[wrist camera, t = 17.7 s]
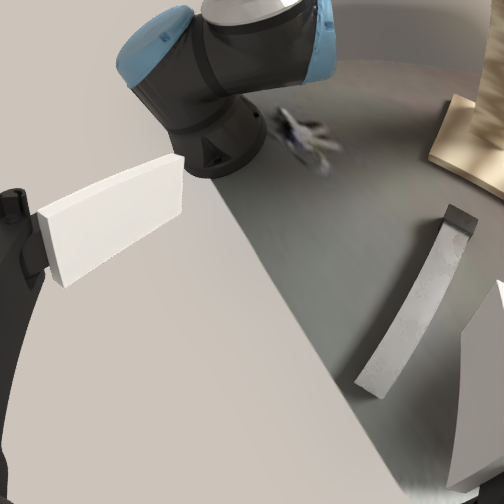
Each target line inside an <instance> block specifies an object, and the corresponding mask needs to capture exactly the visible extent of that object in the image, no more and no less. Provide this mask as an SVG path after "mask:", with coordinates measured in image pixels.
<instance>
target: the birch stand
mask: <svg viewBox="0 0 504 504" xmlns="http://www.w3.org/2000/svg"><path fill="white" fill-rule="evenodd" d="M428 160H429V161H431V162H433V163H435V164H437V165H439V166H441V167H443V168H445V169H447V170H449V171H451V172H453V173H455V174H457V175H459V176H461V177H463V178H465V179H467V180H469V181H471V182H472V183H474V184H476V185H478V186H480V187H482V188H483V189H485V190H487V191H489V192H490V193H492V194H494V195H496V196H497V197H499V198H501V199H502V200H504V0H492V4H491V15H490V25H489V33H488V41H487V48H486V54H485V60H484V66H483V71H482V76H481V81H480V86H479V91H478V95H477V100H476V103H474V102H472V101H470V100H468V99H465V98H463V97H461V96H458V95H456V94H454V96H453V99H452V101H451V104H450V106H449V109H448V111H447V114H446V116H445V118H444V121H443V123H442V126H441V128H440V130H439V133H438V135H437V137H436V139H435V142H434V144H433V146H432V148H431V151H430V153H429V157H428Z"/></svg>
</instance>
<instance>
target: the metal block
mask: <svg viewBox="0 0 504 504" xmlns="http://www.w3.org/2000/svg"><path fill="white" fill-rule="evenodd" d="M477 222H478V219H477V218H475V217H473V216H471V215H469V214H468V213H466V212H464V211H462V210H460V209H459V208H457V207H455V206H453V205H451V204H449V205H448V208H447V210H446V213H445V215H444V217H443V220H442V222H441V224H440V227H439V229H438V231H440V232H439V234H438V236H437V238H436V240H435V243H434V245H433V247H432V249H431V251H430V253H429V255H428V257H427V259H426V261H425V263H424V265H423V267H422V269H421V271H420V273H419V275H418V277H417V279H416V281H415V283H414V285H413V287H412V289H411V291H410V292H409V294H408V296H407V298H406V300H405V302H404V303H403V305H402V307H401V309H400V310H399V312H398V314H397V316H396V317H395V319H394V321H393V323H392V324H391V326H390V328H389V329H388V331H387V333H386V334H385V336H384V338H383V339H382V341H381V342H380V344H379V346H378V347H377V349H376V350H375V352H374V353H373V355H372V357H371V358H370V360H369V361H368V363H367V364H366V366H365V367H364V369H363V370H362V372H361V373H360V375H359V376H358V378H357V379H356V380H355V382H354V383H356V384H358V385H359V386H361V387H362V388H364V389H365V390H367V391H369V392H370V393H372V394H373V395H375V396H377V397H378V398H380V399H381V400H383V398H384V397H385V395H386V394H387V392H388V391H389V389H390V388H391V386H392V385H393V383H394V382H395V380H396V379H397V377H398V376H399V374H400V372H401V371H402V369H403V368H404V366H405V364H406V363H407V361H408V360H409V358H410V356H411V355H412V353H413V351H414V350H415V348H416V346H417V344H418V343H419V341H420V339H421V337H422V336H423V334H424V332H425V330H426V328H427V327H428V325H429V323H430V321H431V319H432V317H433V315H434V313H435V312H436V310H437V308H438V306H439V304H440V302H441V300H442V298H443V296H444V294H445V292H446V289H447V287H448V285H449V283H450V281H451V279H452V277H453V274H454V272H455V270H456V268H457V265H458V263H459V261H460V258H461V256H462V254H463V251H464V249H465V246H466V244H467V242H468V241H469V239H470V238H471V236H472V235H473V233H474V230H475V228H476V225H477Z"/></svg>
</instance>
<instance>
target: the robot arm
mask: <svg viewBox="0 0 504 504" xmlns="http://www.w3.org/2000/svg"><path fill="white" fill-rule="evenodd" d="M336 61H337V58H336V38H335V30H334V22H333V12H332V6H331V1H330V0H204V1H203V3H202V6H201V14H198V15H194V10H193V9H191V8H189V7H188V6H186V5H182V6H176V7H173V8H171V9H169V10H166V11H165V12H163V13H161V14H159V15H158V16H156V17H155V18H153V19H152V20H150V21H149V22H147V23H146V24H145V25H144V26H142V27H141V28H140V29H139V30H138V31H137V32H136V33H134V35H133V36H131V38H130V39H129V40H128V41H127V42H126V44H124V46H123V47H122V49H121V50H120V52H119V54H118V56H117V59H116V68H117V70H118V72H119V74H120V75H121V76H122V78H123V79H124V80H125V82H126V83H127V87H128V88H129V89H131V90H132V91H133V93H134V94H135V95H136V96H137V97H138V98H139V99H140V100H141V102H142V103H143V104H144V105H145V106H146V107H147V108H148V110H149V111H150V112H151V113H152V114H153V115H154V116H155V117H156V119H157V120H158V121H159V122H160V123H161V124H162V125H163V126H164V128H165V129H166V130H167V131H168V134H169V137H170V140H171V143H172V146H173V150H174V153H175V154H173V153H170V154H167V155H164V156H162V157H159V158H156V159H153V160H151V161H148V162H145V163H143V164H140V165H138V166H135V167H133V168H130V169H128V170H125V171H122V172H120V173H118V174H115V175H113V176H110V177H108V178H106V179H103V180H101V181H99V182H96V183H94V184H92V185H89V186H87V187H85V188H83V189H81V190H78V191H76V192H74V193H72V194H70V195H68V196H66V197H63V198H61V199H59V200H57V201H55V202H53V203H51V204H49V205H47V206H45V207H43V208H41V209H39V210H37V213H35V214H33V215H30V212H29V207H28V202H27V197H26V192H25V190H23V189H21V188H15V189H9V190H7V191H4V192H2V193H0V504H13V503H12V502H11V501H9V500H7V482H8V467H7V462H6V459H5V457H4V454H3V452H2V448H1V441H2V434H3V427H4V420H5V415H6V410H7V405H8V400H9V395H10V390H11V386H12V381H13V377H14V373H15V369H16V365H17V361H18V357H19V354H20V350H21V347H22V344H23V340H24V337H25V334H26V330H27V327H28V324H29V321H30V318H31V315H32V312H33V309H34V306H35V304H36V301H37V298H38V295H39V293H40V290H41V287H42V285H43V282H44V279H45V271H44V269H45V268H46V267H48V266H50V270H51V273H52V277H53V279H54V280H55V281H56V282H57V283H58V284H59V285H61V286H62V287H63V288H64V289H65V288H66V287H68V286H69V285H71V284H72V283H74V282H75V281H77V280H78V279H79V278H81V277H82V276H84V275H85V274H87V273H88V272H90V271H91V270H93V269H94V268H96V267H97V266H99V265H100V264H102V263H103V262H105V261H106V260H108V259H109V258H111V257H112V256H114V255H115V254H117V253H119V252H120V251H122V250H123V249H125V248H126V247H128V246H130V245H131V244H133V243H134V242H136V241H137V240H139V239H141V238H142V237H144V236H146V235H147V234H149V233H150V232H152V231H154V230H155V229H157V228H159V227H160V226H162V225H163V224H165V223H167V222H168V221H170V220H172V219H173V218H175V217H177V216H178V215H180V214H181V213H182V193H183V174H184V169H185V170H186V171H187V172H188V173H190V174H191V175H193V176H195V177H199V178H217V177H222V176H225V175H228V174H230V173H232V172H234V171H236V170H238V169H240V168H241V167H243V166H244V165H245V164H247V163H248V162H249V161H250V160H251V159H252V158H253V157H254V156H255V155H256V154H257V153H258V151H259V150H260V148H261V146H262V145H263V142H264V140H265V136H266V124H265V121H264V119H263V117H262V115H261V113H260V111H259V109H258V108H257V107H256V106H255V105H254V104H253V103H252V102H251V101H250V100H248V99H247V98H246V97H245V96H244V95H242V94H243V93H249V92H254V91H261V90H267V89H274V88H281V87H288V86H296V85H305V84H306V83H311V82H316V81H322V80H326V79H328V78H330V77H331V76H332V75H333V74H334V72H335V70H336ZM479 486H480V489H479V495H478V496H477V497H475V498H473V499H471V500H468V501H466V502H464V503H462V504H504V283H503V282H501V281H499V280H496V281H495V283H494V285H493V286H492V288H491V289H490V291H489V293H488V294H487V296H486V297H485V299H484V300H483V302H482V303H481V305H480V306H479V308H478V309H477V311H476V312H475V314H474V315H473V317H472V318H471V320H470V321H469V323H468V324H467V325H466V327H465V328H464V330H463V331H462V332H461V372H460V392H459V405H458V416H457V425H456V433H455V441H454V448H453V454H452V460H451V466H450V471H449V476H448V481H447V486H446V489H448V490H453V491H457V492H462V493H467V492H469V491H471V490H473V489H475V488H477V487H479Z"/></svg>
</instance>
